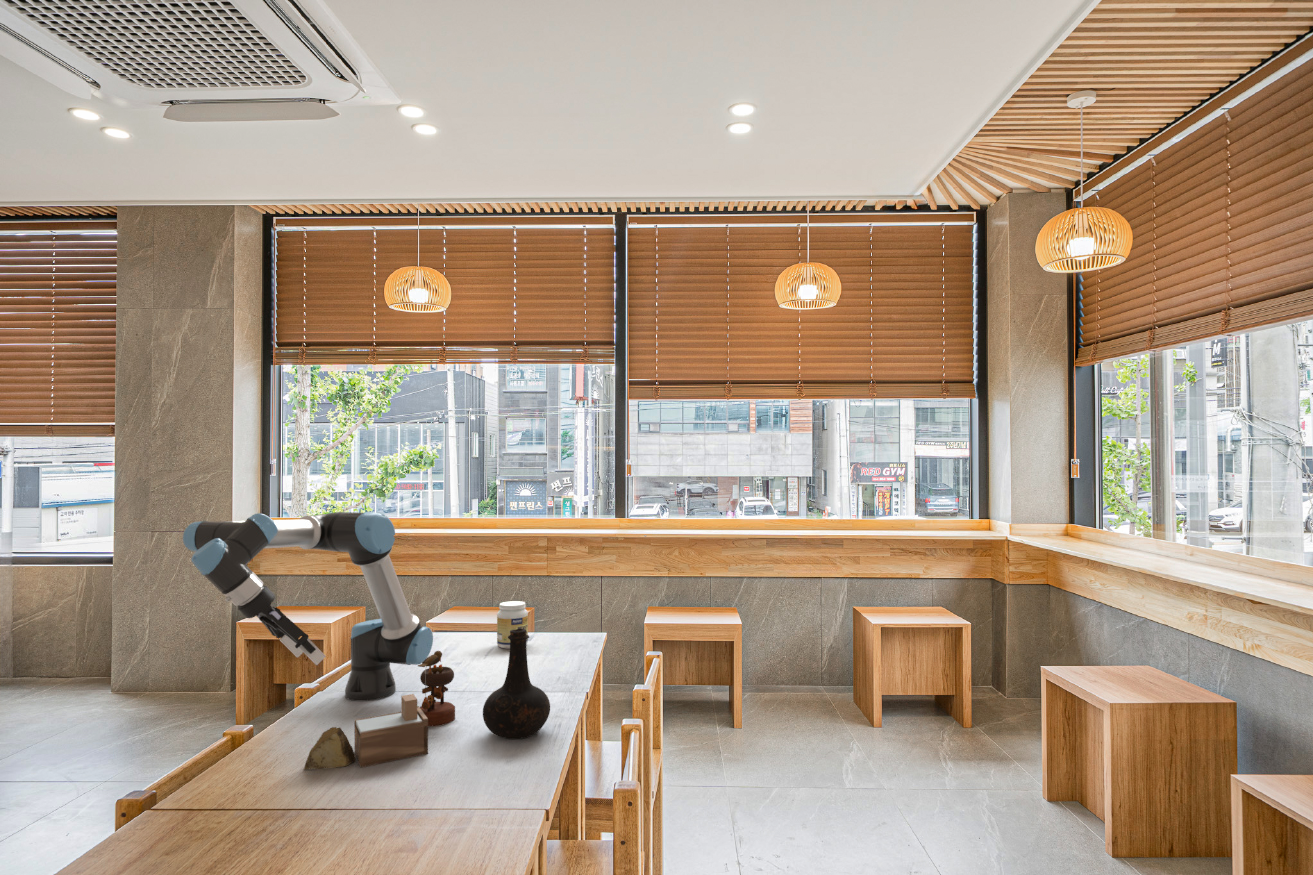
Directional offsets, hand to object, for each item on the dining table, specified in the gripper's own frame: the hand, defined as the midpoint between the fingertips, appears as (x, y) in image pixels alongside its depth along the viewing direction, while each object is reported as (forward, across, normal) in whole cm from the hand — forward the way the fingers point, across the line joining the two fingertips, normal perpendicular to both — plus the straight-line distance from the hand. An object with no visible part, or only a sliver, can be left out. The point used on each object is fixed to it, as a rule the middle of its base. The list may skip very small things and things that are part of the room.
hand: (311, 656), depth 179 cm
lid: (+26, +5, +1) cm, 26 cm away
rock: (+23, +1, -14) cm, 27 cm away
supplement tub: (+80, -67, +63) cm, 122 cm away
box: (+32, +4, -3) cm, 32 cm away
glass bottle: (+51, +16, +20) cm, 57 cm away
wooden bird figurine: (+44, -10, +13) cm, 47 cm away
